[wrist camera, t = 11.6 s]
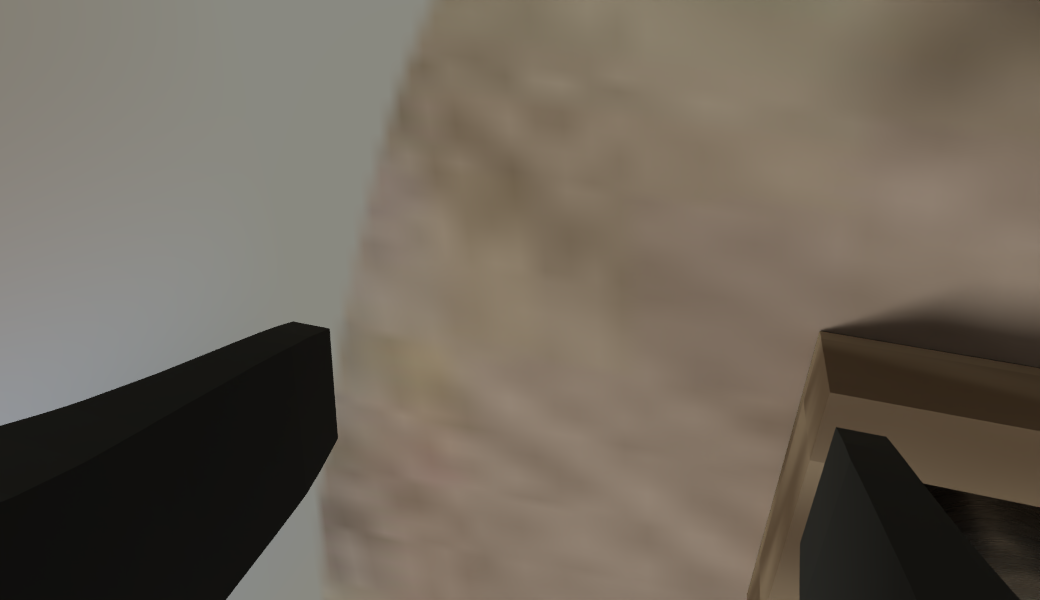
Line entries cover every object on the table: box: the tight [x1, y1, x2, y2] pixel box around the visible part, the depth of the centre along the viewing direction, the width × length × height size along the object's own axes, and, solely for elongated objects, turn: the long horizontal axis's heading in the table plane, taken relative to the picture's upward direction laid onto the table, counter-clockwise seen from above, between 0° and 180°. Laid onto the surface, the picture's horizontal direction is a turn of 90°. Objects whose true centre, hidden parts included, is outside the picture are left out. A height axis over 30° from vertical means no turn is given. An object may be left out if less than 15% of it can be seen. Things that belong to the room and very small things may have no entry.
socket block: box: [747, 331, 1040, 600], centre depth 20 cm, size 10×10×3 cm
